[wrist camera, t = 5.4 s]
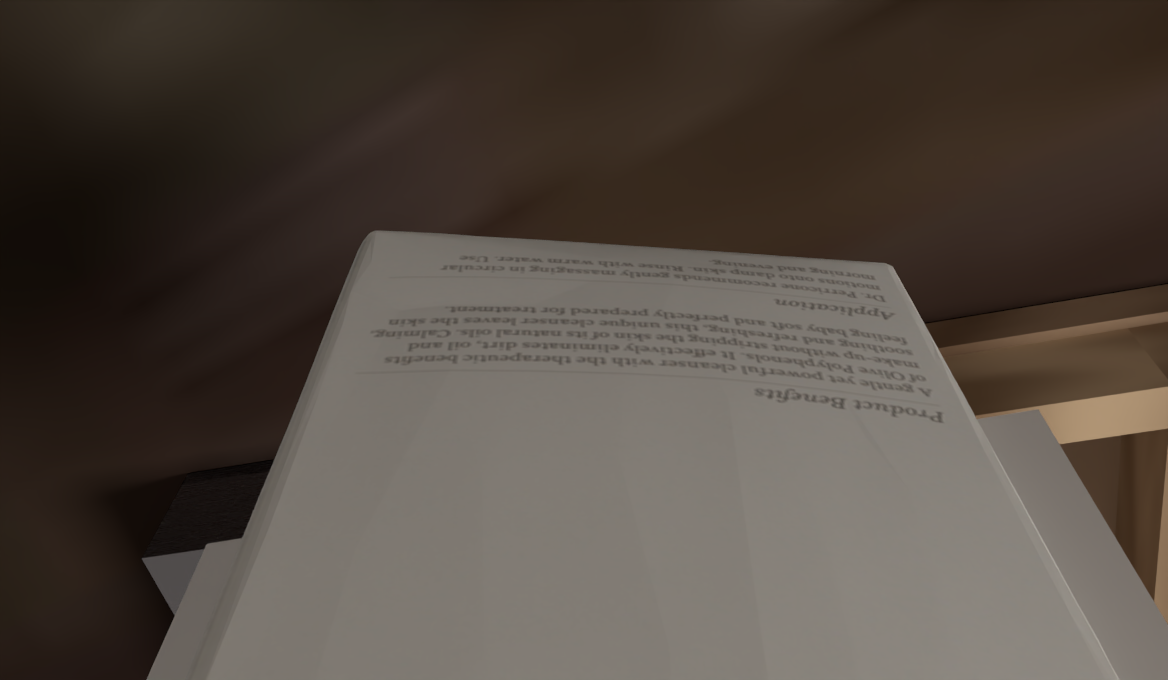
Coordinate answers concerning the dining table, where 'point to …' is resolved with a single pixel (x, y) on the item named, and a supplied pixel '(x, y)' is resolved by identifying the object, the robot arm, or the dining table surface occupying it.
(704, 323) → the skincare box
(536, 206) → the dining table surface
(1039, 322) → the wooden tray
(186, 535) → the button housing
